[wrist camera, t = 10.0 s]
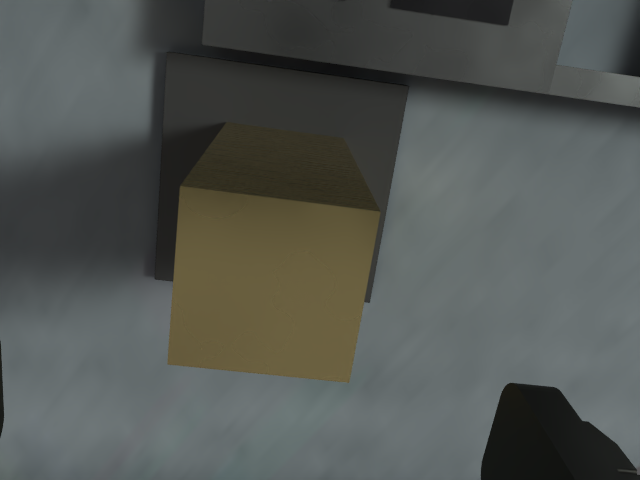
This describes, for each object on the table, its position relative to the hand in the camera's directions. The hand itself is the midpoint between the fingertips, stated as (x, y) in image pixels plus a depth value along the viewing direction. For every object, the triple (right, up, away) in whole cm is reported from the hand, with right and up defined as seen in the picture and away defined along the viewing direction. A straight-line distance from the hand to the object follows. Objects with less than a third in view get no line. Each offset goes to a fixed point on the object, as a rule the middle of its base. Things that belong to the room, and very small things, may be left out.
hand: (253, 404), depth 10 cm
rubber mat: (-1, +5, +14) cm, 15 cm away
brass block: (-1, +5, +14) cm, 15 cm away
